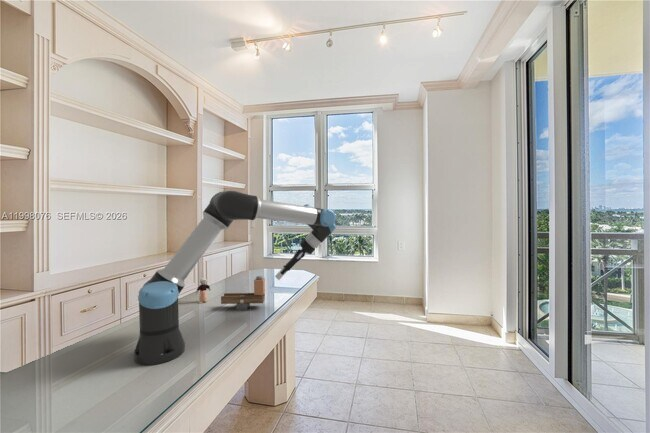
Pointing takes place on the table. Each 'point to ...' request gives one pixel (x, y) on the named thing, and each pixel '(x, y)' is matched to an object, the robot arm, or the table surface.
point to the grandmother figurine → (203, 290)
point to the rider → (259, 285)
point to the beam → (242, 299)
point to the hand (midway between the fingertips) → (277, 277)
